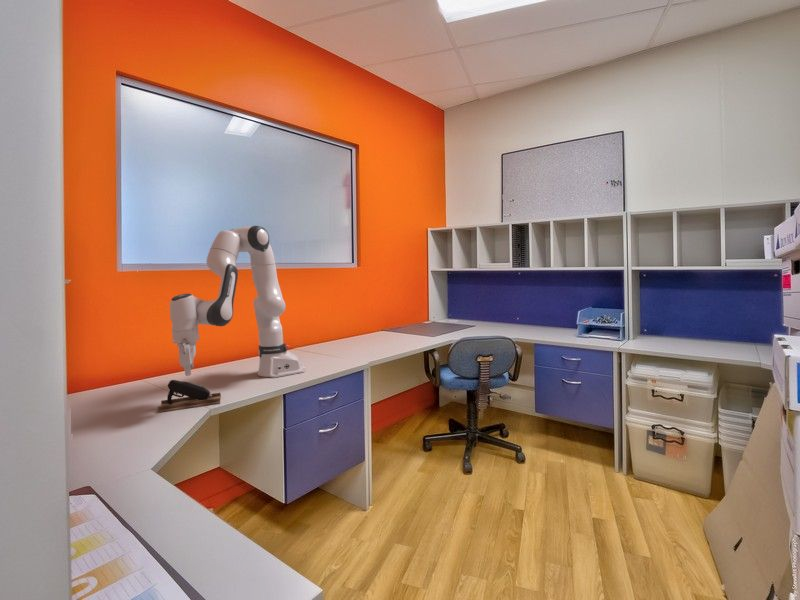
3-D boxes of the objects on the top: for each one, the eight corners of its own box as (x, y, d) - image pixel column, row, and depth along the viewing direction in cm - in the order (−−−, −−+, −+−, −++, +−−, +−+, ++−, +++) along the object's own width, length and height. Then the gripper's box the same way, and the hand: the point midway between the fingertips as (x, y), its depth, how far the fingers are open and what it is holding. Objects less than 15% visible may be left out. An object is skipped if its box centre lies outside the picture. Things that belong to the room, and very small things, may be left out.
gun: (203, 415, 154) (214, 391, 154) (159, 402, 148) (171, 377, 149) (204, 412, 156) (215, 389, 157) (161, 399, 151) (172, 375, 151)
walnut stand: (220, 395, 161) (220, 391, 161) (220, 403, 152) (219, 399, 152) (162, 404, 153) (161, 399, 153) (157, 412, 144) (157, 408, 144)
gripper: (192, 340, 141) (196, 378, 143) (197, 331, 160) (200, 364, 162) (172, 342, 139) (176, 380, 140) (179, 333, 158) (183, 366, 159)
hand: (189, 372), depth 151 cm, fingers open, 8 cm apart
